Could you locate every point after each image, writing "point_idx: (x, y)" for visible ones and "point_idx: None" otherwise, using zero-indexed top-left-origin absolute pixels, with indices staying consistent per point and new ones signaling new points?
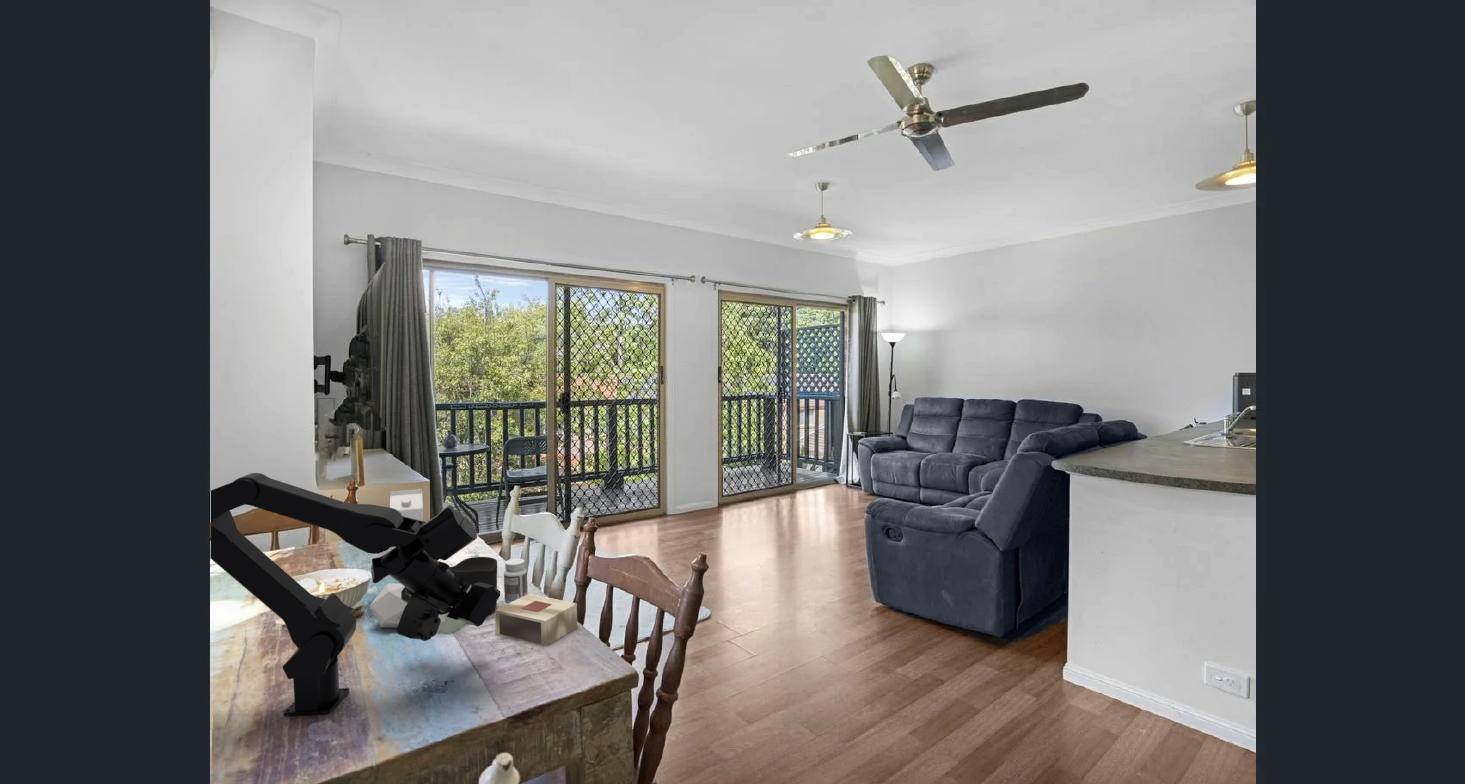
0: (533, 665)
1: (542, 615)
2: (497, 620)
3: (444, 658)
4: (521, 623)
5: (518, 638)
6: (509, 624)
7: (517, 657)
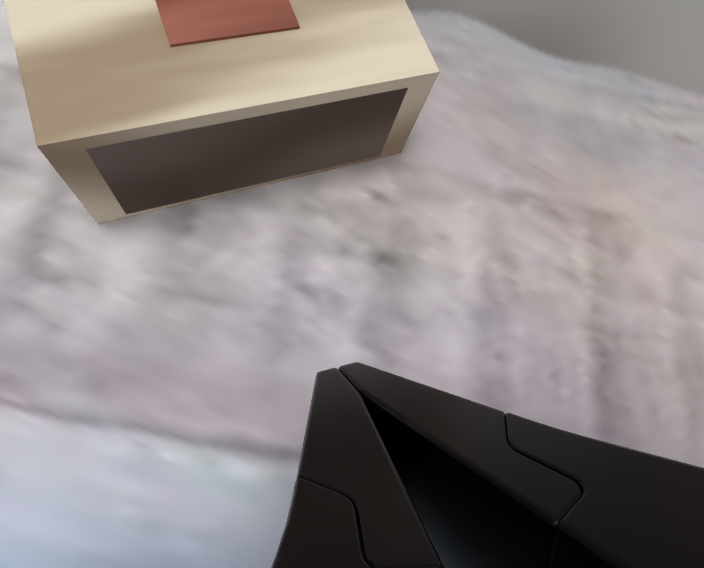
0: (527, 274)
1: (362, 39)
2: (86, 180)
3: (150, 563)
4: (274, 132)
5: (251, 184)
6: (186, 164)
7: (418, 281)
